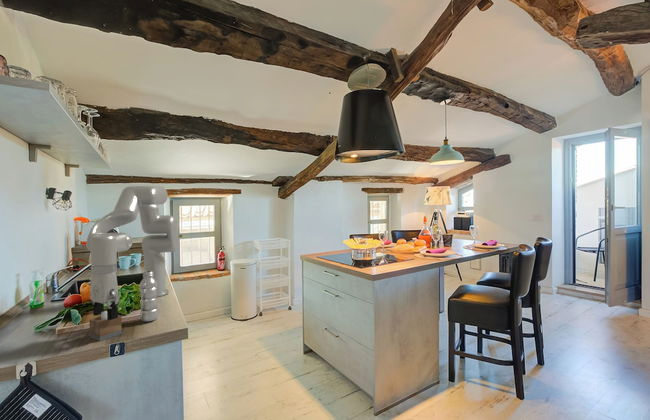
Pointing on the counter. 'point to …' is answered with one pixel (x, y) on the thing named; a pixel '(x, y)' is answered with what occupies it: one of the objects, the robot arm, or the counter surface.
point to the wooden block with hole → (105, 326)
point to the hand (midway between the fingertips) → (105, 316)
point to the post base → (104, 317)
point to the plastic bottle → (148, 297)
